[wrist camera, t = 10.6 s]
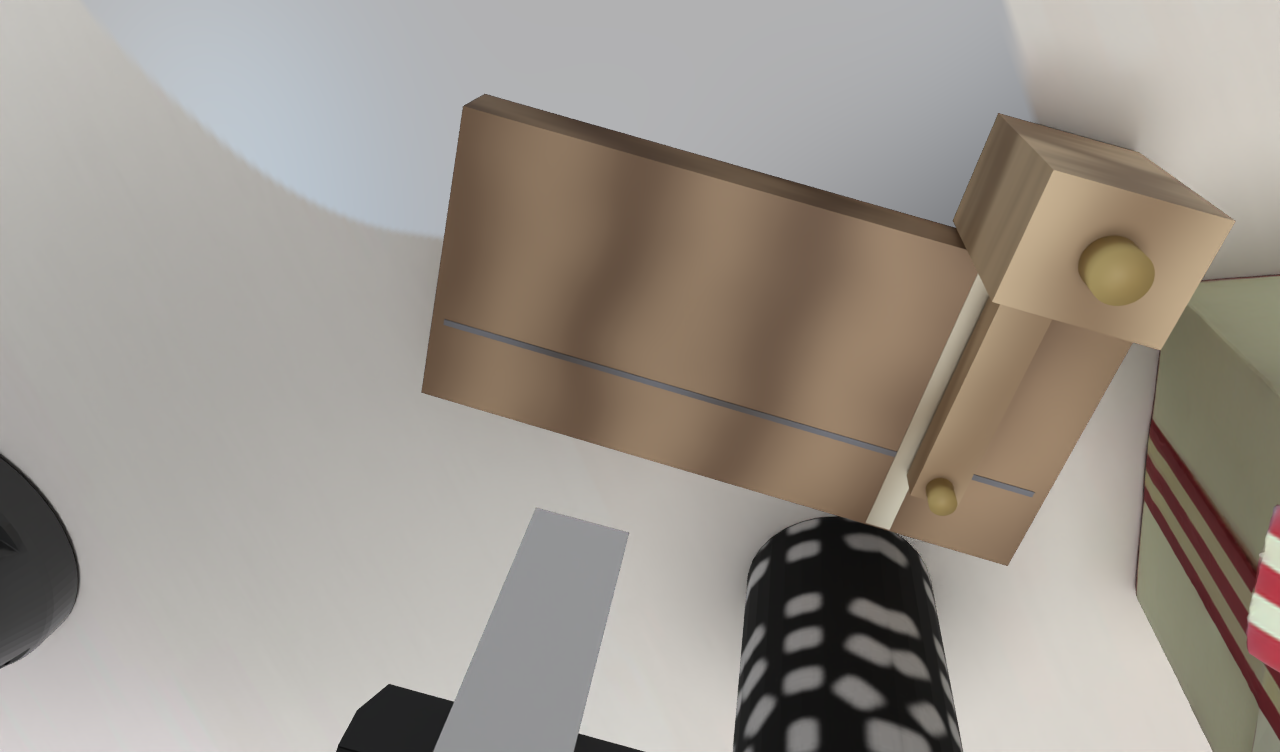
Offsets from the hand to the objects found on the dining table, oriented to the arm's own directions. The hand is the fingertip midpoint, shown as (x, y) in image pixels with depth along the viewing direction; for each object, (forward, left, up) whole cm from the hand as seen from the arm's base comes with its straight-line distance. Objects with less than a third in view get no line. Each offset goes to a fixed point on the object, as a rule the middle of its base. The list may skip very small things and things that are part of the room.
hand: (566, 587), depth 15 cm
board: (+3, -4, -23) cm, 24 cm away
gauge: (+11, -1, -23) cm, 25 cm away
